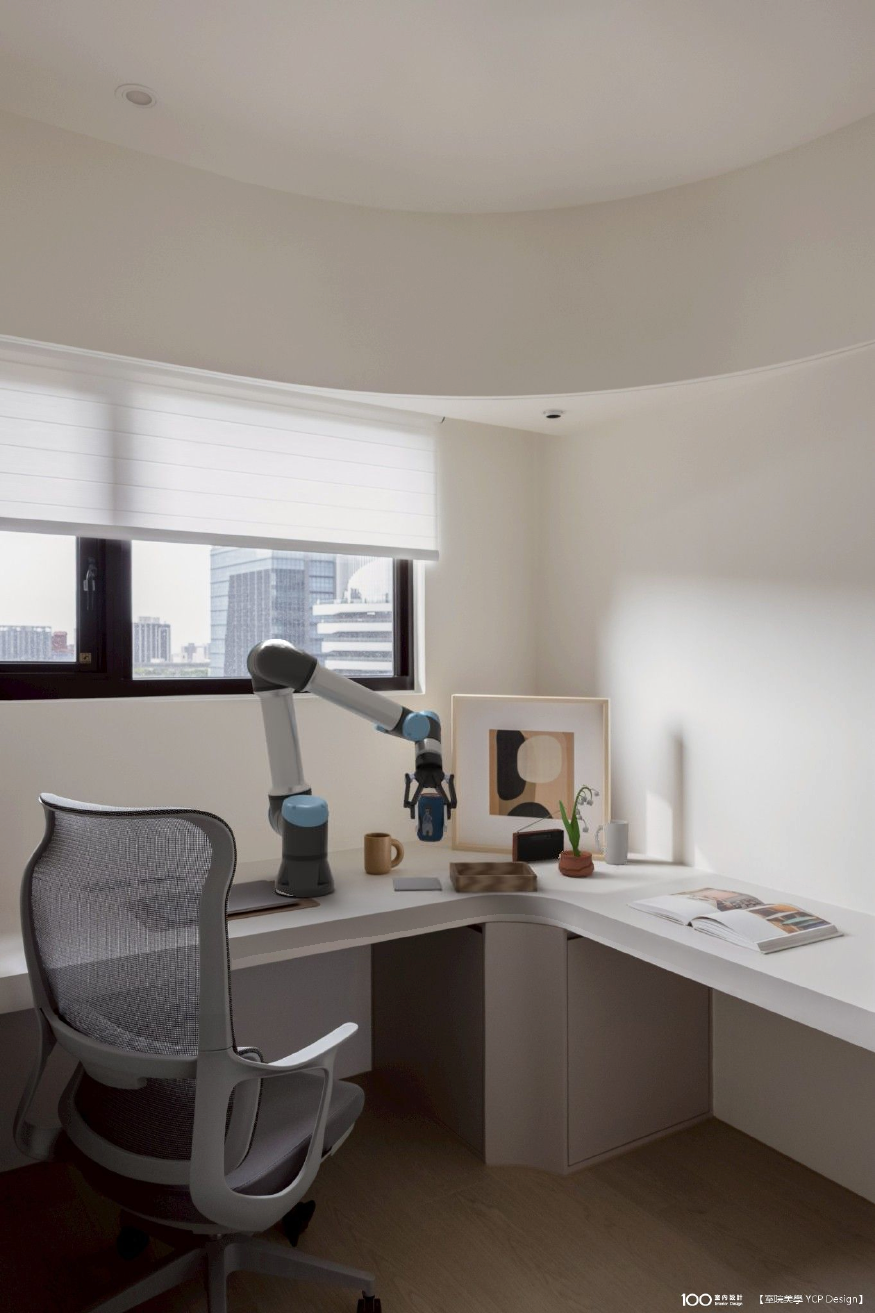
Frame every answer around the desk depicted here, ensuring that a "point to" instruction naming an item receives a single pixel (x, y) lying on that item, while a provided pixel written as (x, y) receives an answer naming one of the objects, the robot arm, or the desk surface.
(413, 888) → the grey mat
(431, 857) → the desk surface
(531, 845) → the radio
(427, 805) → the soda can
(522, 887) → the walnut crate
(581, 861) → the potted flower
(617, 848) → the mug
